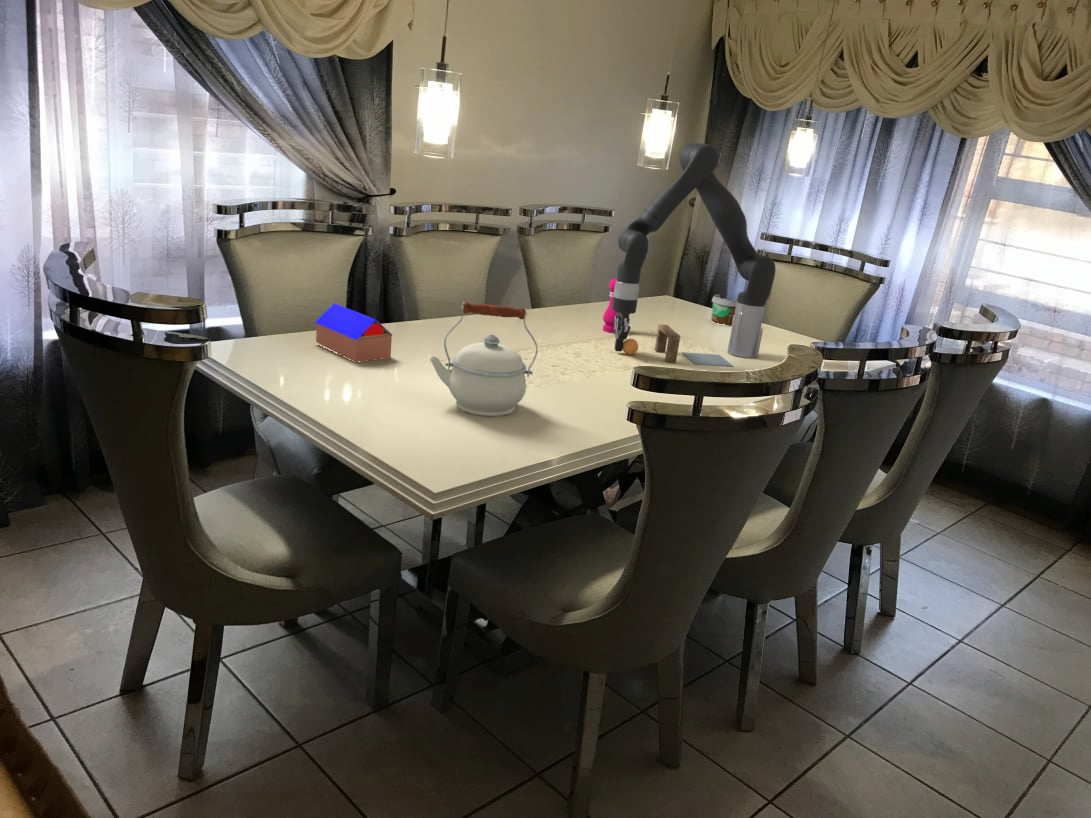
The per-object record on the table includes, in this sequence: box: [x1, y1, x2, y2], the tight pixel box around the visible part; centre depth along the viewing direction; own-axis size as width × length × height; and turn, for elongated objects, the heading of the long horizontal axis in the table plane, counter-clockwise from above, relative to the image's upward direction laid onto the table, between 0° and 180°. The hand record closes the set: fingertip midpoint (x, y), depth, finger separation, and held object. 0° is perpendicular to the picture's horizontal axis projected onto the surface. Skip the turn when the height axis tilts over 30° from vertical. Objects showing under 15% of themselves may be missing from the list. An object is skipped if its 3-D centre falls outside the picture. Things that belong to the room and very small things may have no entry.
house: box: [314, 303, 393, 363], centre depth 235 cm, size 12×20×12 cm, turn 46°
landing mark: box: [681, 351, 734, 368], centre depth 272 cm, size 13×13×1 cm
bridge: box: [654, 323, 681, 364], centre depth 268 cm, size 3×14×9 cm, turn 9°
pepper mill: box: [602, 277, 617, 334], centre depth 292 cm, size 7×7×20 cm
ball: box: [622, 338, 639, 356], centre depth 266 cm, size 5×5×5 cm
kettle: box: [429, 301, 538, 417], centre depth 200 cm, size 25×18×25 cm
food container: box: [711, 294, 737, 326], centre depth 326 cm, size 12×6×10 cm, turn 25°
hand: (618, 350), depth 266 cm, fingers closed
